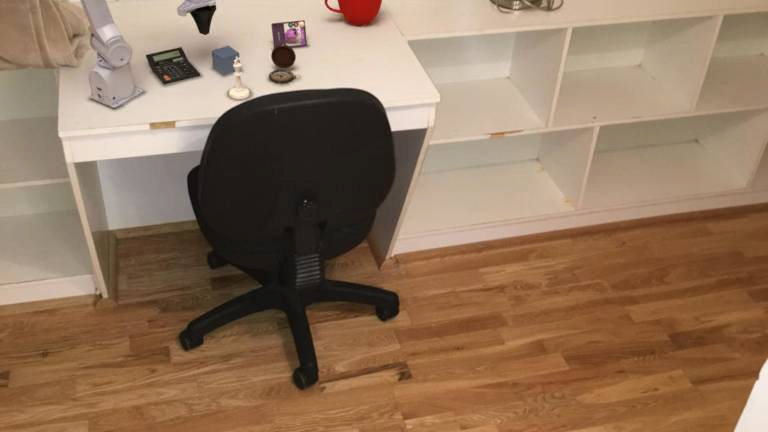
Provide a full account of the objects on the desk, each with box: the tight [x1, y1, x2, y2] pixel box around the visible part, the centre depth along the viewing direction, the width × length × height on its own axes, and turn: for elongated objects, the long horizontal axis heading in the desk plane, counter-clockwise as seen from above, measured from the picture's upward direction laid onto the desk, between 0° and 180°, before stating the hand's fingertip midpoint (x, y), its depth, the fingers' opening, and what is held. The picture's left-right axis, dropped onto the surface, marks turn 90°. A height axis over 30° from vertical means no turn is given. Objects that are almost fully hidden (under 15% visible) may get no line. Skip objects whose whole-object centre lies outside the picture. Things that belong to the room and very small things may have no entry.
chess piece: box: [228, 57, 250, 100], centre depth 188 cm, size 5×5×10 cm
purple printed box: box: [270, 19, 308, 49], centre depth 212 cm, size 7×5×9 cm
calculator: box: [145, 46, 201, 86], centre depth 197 cm, size 9×12×3 cm
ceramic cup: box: [324, 0, 383, 27], centre depth 222 cm, size 13×17×10 cm
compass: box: [268, 44, 302, 85], centre depth 197 cm, size 8×8×7 cm
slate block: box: [211, 45, 241, 76], centre depth 199 cm, size 5×5×5 cm
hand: (204, 33), depth 195 cm, fingers closed
